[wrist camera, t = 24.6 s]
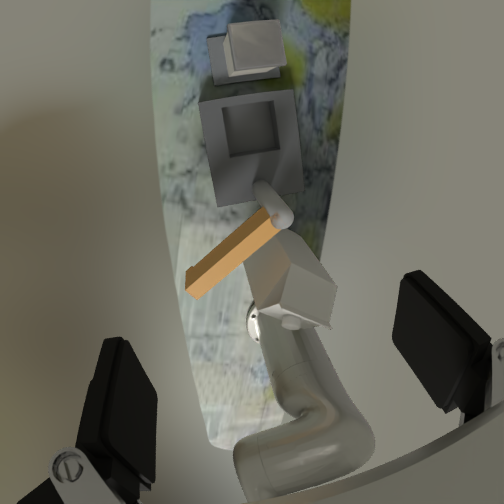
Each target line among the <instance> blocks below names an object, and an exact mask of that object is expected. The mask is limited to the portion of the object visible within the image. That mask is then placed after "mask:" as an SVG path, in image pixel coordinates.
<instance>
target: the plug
mask: <svg viewBox="0 0 504 504" xmlns="http://www.w3.org/2000/svg"><path fill="white" fill-rule="evenodd" d="M227 31H228V32H227V35H226V37H225V40H224V42H223V46H224V52H225V58H226V64H227V70H228V76H229V77H232V76H239V75H247V74H255V73H264V72H267V71H269V70H271V69H273V68H275V67H278V66H285V65H287V63H286V56H285V50H284V44H283V38H282V33H281V27H280V21H279V20H262V21H250V22H240V23H231V24H228V25H227Z"/></svg>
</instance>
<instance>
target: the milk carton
mask: <svg viewBox="0 0 504 504" xmlns="http://www.w3.org/2000/svg"><path fill="white" fill-rule="evenodd" d="M243 264H244V267H245V271H246V274H247V278H248V281H249V285H250V288H251V292H252V295H253V298H254V302H255V305H256V309H257V311H259V312H261V313H264V314H266V315H269V316H271V317H274V318H276V319H279V320H282V324H281V326H282V327H284V328H286V329H289V330H298V329H300V328H302V329H307V328H312V327H317V326H322V327H325V328H327V329H330V330H331V329H332V327H331V326H330V324H329V322H330V317H331V313H332V309H333V305H334V301H335V296H336V292H337V285H336V284H335V283H334V281H333V280H332V278H331V277H330V276H329V274H328V273H327V271H326V270H325V269H324V267H323V266H322V264H321V263H320V262H319V260H318V259H317V257H316V256H315V255H314V253H313V252H312V251H311V249H310V248H309V246H308V245H307V244H306V242H305V241H304V240H303V238H302V237H301V236H300V235H298V234H296V233H294V232H293V231H291V230H289V229H287V228H286V229H281V230H280V231H279V232H278V233H277V234H275V235H274V236H273V237H272V238H271V239H270V240H268V241H267V242H266V243H265V244H264V245H262V246H261V247H260V248H259V249H258V250H256V251H255V252H254V253H253V254H252V255H250V256H249V257H248V258H247V259H246V260H244V261H243Z"/></svg>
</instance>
